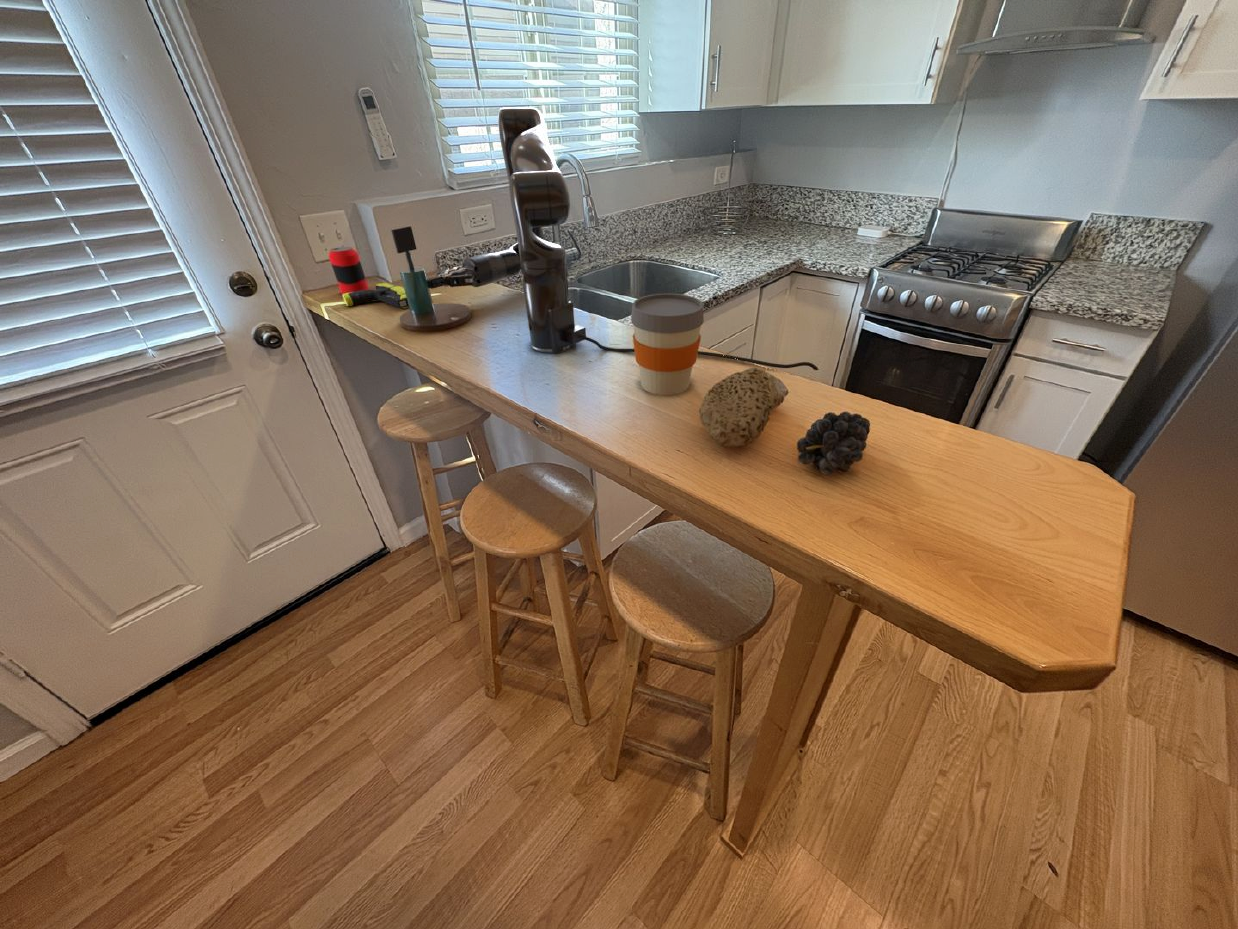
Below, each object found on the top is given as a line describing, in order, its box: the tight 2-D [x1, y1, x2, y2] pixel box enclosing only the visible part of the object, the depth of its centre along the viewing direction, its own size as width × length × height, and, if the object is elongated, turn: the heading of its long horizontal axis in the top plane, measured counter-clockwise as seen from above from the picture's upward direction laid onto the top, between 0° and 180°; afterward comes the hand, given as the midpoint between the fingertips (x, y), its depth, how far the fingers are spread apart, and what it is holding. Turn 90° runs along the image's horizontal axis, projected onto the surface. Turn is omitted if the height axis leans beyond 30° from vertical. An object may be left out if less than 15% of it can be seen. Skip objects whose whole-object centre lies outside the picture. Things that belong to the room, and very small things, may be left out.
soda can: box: [328, 246, 370, 295], centre depth 142 cm, size 8×8×12 cm
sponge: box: [698, 367, 789, 448], centre depth 78 cm, size 13×8×20 cm
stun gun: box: [341, 282, 409, 309], centre depth 135 cm, size 3×19×15 cm
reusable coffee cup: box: [630, 293, 704, 396], centre depth 87 cm, size 13×13×15 cm
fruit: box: [796, 411, 871, 476], centre depth 69 cm, size 9×8×15 cm
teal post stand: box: [390, 226, 472, 332], centre depth 117 cm, size 17×17×20 cm
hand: (428, 284), depth 122 cm, fingers closed
